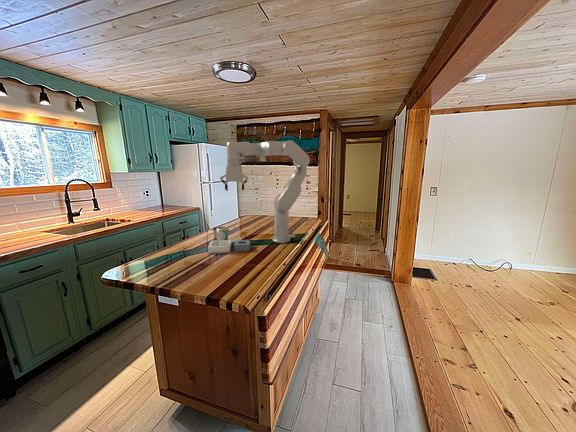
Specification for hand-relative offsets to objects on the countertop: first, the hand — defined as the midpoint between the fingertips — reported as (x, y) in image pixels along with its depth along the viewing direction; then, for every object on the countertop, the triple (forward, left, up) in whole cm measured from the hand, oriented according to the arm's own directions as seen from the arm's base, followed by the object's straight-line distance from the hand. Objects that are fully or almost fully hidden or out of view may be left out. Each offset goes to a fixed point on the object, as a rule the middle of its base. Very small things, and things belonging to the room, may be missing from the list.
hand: (234, 190), depth 146 cm
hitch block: (-4, +12, -34) cm, 37 cm away
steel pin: (+9, +12, -33) cm, 36 cm away
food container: (+9, -2, -34) cm, 36 cm away
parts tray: (+9, +12, -34) cm, 37 cm away
